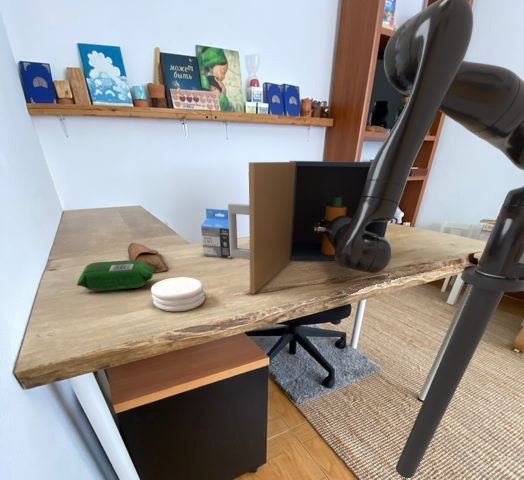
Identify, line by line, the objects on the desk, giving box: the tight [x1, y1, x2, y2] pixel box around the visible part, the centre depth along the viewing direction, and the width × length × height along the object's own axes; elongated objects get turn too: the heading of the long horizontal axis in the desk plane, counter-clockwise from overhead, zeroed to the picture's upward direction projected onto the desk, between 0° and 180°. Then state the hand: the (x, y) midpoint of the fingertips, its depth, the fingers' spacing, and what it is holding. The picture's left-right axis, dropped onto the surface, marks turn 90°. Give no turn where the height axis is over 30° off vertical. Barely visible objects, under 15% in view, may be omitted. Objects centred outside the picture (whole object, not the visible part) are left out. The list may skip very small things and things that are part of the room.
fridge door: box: [227, 161, 296, 295], centre depth 67 cm, size 6×26×24 cm, turn 159°
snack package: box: [76, 259, 158, 292], centre depth 64 cm, size 7×16×5 cm, turn 104°
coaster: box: [150, 276, 206, 312], centre depth 58 cm, size 10×10×4 cm
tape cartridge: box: [200, 208, 233, 259], centre depth 84 cm, size 9×4×12 cm, turn 72°
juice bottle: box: [321, 196, 347, 255], centre depth 84 cm, size 6×6×15 cm
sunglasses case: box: [127, 242, 168, 274], centre depth 79 cm, size 18×7×7 cm, turn 25°
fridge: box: [288, 160, 389, 263], centre depth 85 cm, size 18×26×24 cm
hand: (332, 222), depth 86 cm, fingers open, 6 cm apart
